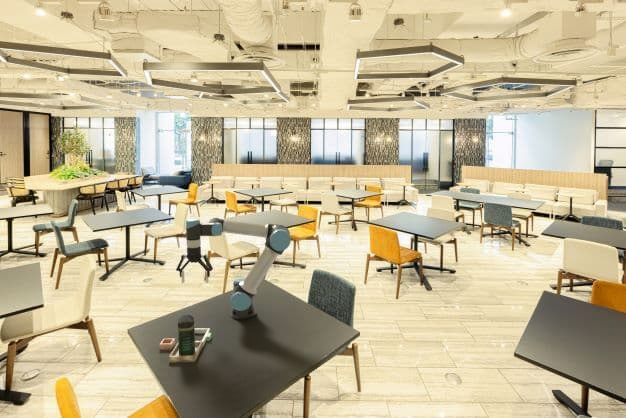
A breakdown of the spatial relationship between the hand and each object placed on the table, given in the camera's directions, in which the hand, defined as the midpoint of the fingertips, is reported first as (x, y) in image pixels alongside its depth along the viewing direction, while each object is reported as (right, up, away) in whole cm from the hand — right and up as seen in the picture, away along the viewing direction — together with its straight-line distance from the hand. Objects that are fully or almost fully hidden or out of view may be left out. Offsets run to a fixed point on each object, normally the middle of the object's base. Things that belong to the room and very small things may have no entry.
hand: (195, 282), depth 212 cm
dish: (-8, -30, -19) cm, 36 cm away
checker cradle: (+3, -29, -11) cm, 31 cm away
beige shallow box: (+4, -31, -26) cm, 41 cm away
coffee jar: (+4, -30, -26) cm, 40 cm away
